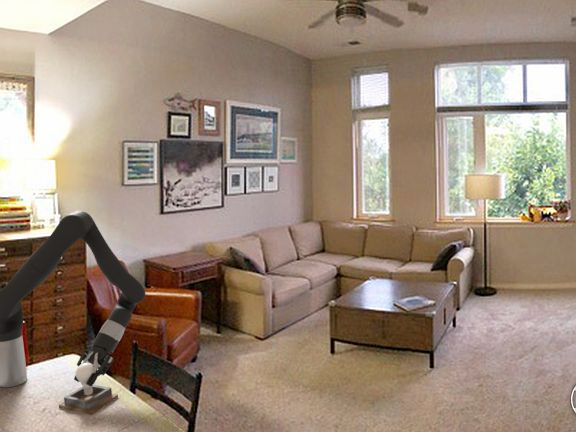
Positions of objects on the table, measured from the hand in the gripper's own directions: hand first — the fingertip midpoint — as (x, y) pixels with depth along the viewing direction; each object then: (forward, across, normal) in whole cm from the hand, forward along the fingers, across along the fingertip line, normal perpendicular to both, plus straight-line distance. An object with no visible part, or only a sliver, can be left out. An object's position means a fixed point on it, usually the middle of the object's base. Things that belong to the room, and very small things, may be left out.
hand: (82, 382), depth 167 cm
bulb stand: (+4, 0, +6) cm, 8 cm away
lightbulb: (+2, 0, +5) cm, 5 cm away
